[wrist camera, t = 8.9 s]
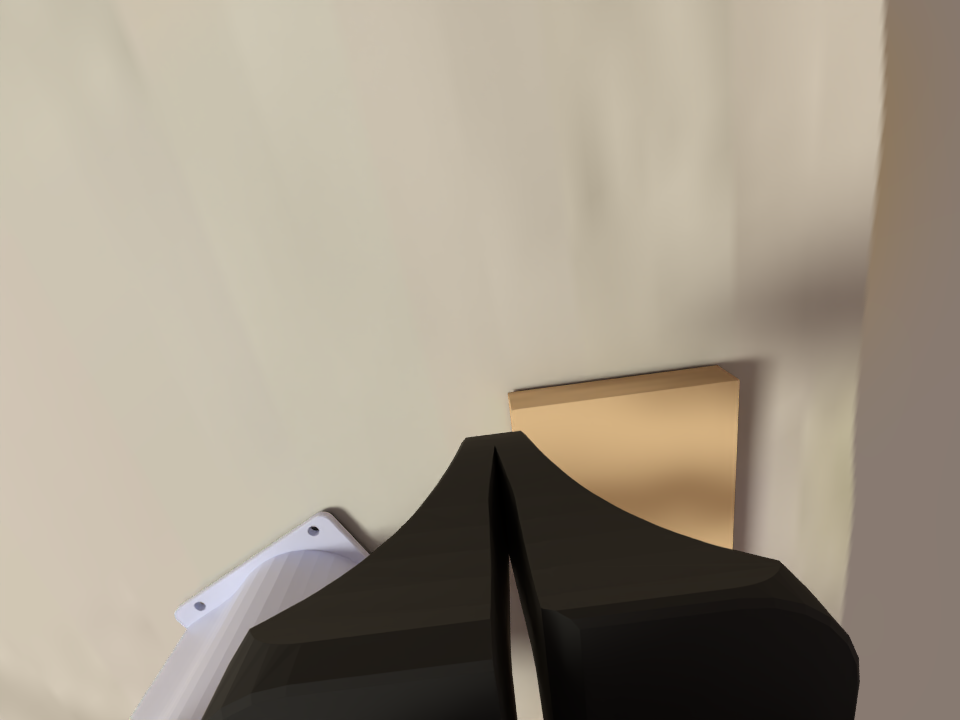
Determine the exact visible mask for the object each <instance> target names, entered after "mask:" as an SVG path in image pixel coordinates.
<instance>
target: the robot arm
mask: <svg viewBox="0 0 960 720" xmlns="http://www.w3.org/2000/svg"><path fill="white" fill-rule="evenodd" d="M311 526H315V527H317V528H318V529H319V530H318V531H315V530H313V529H311ZM509 556H510V560H511V564H512V568H513V573H514V577H515V581H516V585H517V589H518V593H519V597H520V601H521V605H522V609H523V614H524V618H525V622H526V626H527V630H528V634H529V638H530V642H531V646H532V651H533V656H534V661H535V666H536V672H537V679H538V685H539V692H540V699H541V705H542V712H543V718H544V720H854V717H855V711H856V704H857V697H858V690H859V682H860V680H859V657H858V655H857V653H856V651H855V649H854V646H853V644H852V641H851V639H850V637H849V635H848V634H847V633H846V632H845V631H844V629H843V628H842V627H841V626H840V625H839V624H838V623H837V622H836V620H835V619H834V618H833V617H832V616H831V615H830V614H829V612H828V611H827V610H826V609H825V608H824V606H823V605H822V604H821V603H820V602H819V601H818V600H817V598H816V597H815V596H814V595H813V594H812V593H811V592H810V591H809V590H808V588H807V587H806V586H805V585H803V584H802V583H801V582H800V581H799V580H798V579H797V578H796V577H795V576H794V575H793V574H792V573H791V572H790V571H789V570H788V569H787V568H786V567H785V566H784V565H783V564H782V563H781V562H780V561H778V560H774V559H770V558H766V557H762V556H757V555H753V554H749V553H745V552H741V551H737V550H733V549H728V548H724V547H720V546H716V545H713V544H709V543H706V542H703V541H700V540H697V539H694V538H691V537H688V536H685V535H682V534H679V533H676V532H673V531H671V530H668V529H665V528H663V527H660V526H658V525H655V524H653V523H651V522H648V521H646V520H644V519H642V518H639V517H637V516H635V515H633V514H630V513H628V512H626V511H624V510H622V509H620V508H618V507H616V506H615V505H613V504H611V503H609V502H608V501H606V500H604V499H602V498H601V497H599V496H597V495H596V494H594V493H592V492H591V491H589V490H588V489H586V488H585V487H583V486H582V485H580V484H579V483H578V482H576V481H575V480H573V479H572V478H571V477H570V476H568V475H567V474H566V473H565V472H563V471H562V470H561V469H560V468H559V467H558V466H557V465H555V464H554V463H553V462H552V461H551V460H550V459H549V458H548V457H547V456H545V455H544V454H543V453H542V452H541V451H540V450H539V449H538V448H537V447H536V446H535V444H534V443H533V442H532V441H531V440H530V439H529V438H528V437H527V435H526V434H524V433H523V432H522V431H514V432H507V433H499V434H491V435H483V436H476V437H468V438H465V440H464V441H463V442H462V443H461V445H460V448H459V449H458V451H457V453H456V455H455V457H454V459H453V460H452V462H451V464H450V466H449V467H448V469H447V470H446V472H445V473H444V475H443V476H442V478H441V479H440V481H439V482H438V484H437V485H436V487H435V488H434V489H433V491H432V492H431V493H430V495H429V496H428V497H427V499H426V500H425V501H424V502H423V504H422V505H421V506H420V508H419V509H418V510H417V511H416V512H415V513H414V515H413V516H412V517H411V518H410V519H409V520H408V521H407V522H406V523H405V524H404V525H403V526H402V527H401V528H400V529H399V530H398V531H397V532H396V533H395V534H394V535H393V536H392V537H390V538H389V539H388V540H387V541H386V542H384V543H383V544H382V545H381V546H380V547H378V548H377V549H376V550H375V551H374V552H372V553H371V554H369V553H368V552H367V551H366V550H365V549H364V548H363V547H362V546H361V545H360V544H359V543H358V542H357V541H356V540H355V538H354V537H353V536H352V535H351V534H350V533H349V532H348V531H347V530H346V529H345V528H344V527H343V526H342V525H341V524H340V523H339V522H338V521H337V520H336V518H335V517H334V516H333V515H331V514H330V513H328V512H319V513H316V514H315V515H313V516H312V517H311V518H309V519H308V520H306V521H305V522H303V523H302V524H300V525H299V526H297V527H296V528H294V529H293V530H291V531H290V532H288V533H287V534H285V535H284V536H282V537H281V538H279V539H278V540H276V541H275V542H273V543H272V544H270V545H269V546H267V547H266V548H264V549H263V550H261V551H260V552H258V553H257V554H255V555H254V556H252V557H251V558H249V559H248V560H246V561H245V562H243V563H242V564H240V565H239V566H237V567H236V568H234V569H233V570H231V571H230V572H228V573H227V574H225V575H224V576H222V577H221V578H219V579H218V580H216V581H215V582H213V583H212V584H210V585H209V586H207V587H206V588H204V589H203V590H201V591H200V592H198V593H197V594H195V595H194V596H192V597H191V598H189V599H188V600H186V601H185V602H183V603H182V604H181V605H180V606H179V607H178V608H177V610H176V611H175V614H174V615H175V618H176V620H177V621H178V622H179V623H181V624H182V625H183V626H184V627H185V628H186V631H185V632H184V634H183V636H182V637H181V639H180V640H179V642H178V643H177V645H176V646H175V648H174V649H173V651H172V653H171V654H170V656H169V657H168V659H167V660H166V662H165V663H164V665H163V667H162V668H161V670H160V671H159V673H158V674H157V676H156V677H155V679H154V681H153V682H152V684H151V685H150V687H149V688H148V690H147V691H146V693H145V695H144V696H143V698H142V699H141V701H140V702H139V704H138V705H137V707H136V709H135V710H134V712H133V713H132V715H131V716H130V718H129V719H128V720H517V712H516V703H515V694H514V685H513V676H512V663H511V641H510V586H509ZM200 602H202V603H204V604H201V603H200Z"/></svg>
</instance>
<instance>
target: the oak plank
mask: <svg viewBox="0 0 960 720" xmlns="http://www.w3.org/2000/svg"><path fill="white" fill-rule="evenodd" d="M739 384H740V380H739V379H737V378H736V377H734V376H733V375H731V374H730V373H728V372H727V371H725V370H724V369H722V368H721V367H719V366H718V365H714V366H707V367H699V368H692V369H684V370H676V371H669V372H661V373H654V374H646V375H639V376H631V377H623V378H616V379H608V380H601V381H593V382H585V383H578V384H570V385H563V386H555V387H547V388H540V389H532V390H525V391H517V392H510V393H508V399H509V408H510V416H511V425H512V432H514V431H522V432H523V433H524V434H526V435H527V437H528V438H529V439H530V440H531V441H532V442H533V443H534V444H535V446H536V447H537V448H538V449H539V450H540V451H541V452H542V453H543V454H544V455H545V456H547V457H548V458H549V459H550V460H551V461H552V462H553V463H554V464H555V465H557V466H558V467H559V468H560V469H561V470H562V471H563V472H565V473H566V474H567V475H568V476H570V477H571V478H572V479H573V480H575V481H576V482H578V483H579V484H580V485H582V486H583V487H585V488H586V489H588V490H589V491H591V492H592V493H594V494H596V495H597V496H599V497H601V498H602V499H604V500H606V501H608V502H609V503H611V504H613V505H615V506H616V507H618V508H620V509H622V510H624V511H626V512H628V513H630V514H633V515H635V516H637V517H639V518H642V519H644V520H646V521H648V522H651V523H653V524H655V525H658V526H660V527H663V528H665V529H668V530H671V531H673V532H676V533H679V534H682V535H685V536H688V537H691V538H694V539H697V540H700V541H703V542H706V543H709V544H713V545H716V546H720V547H724V548H728V549H733V526H734V503H735V479H736V455H737V431H738V407H739Z"/></svg>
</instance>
